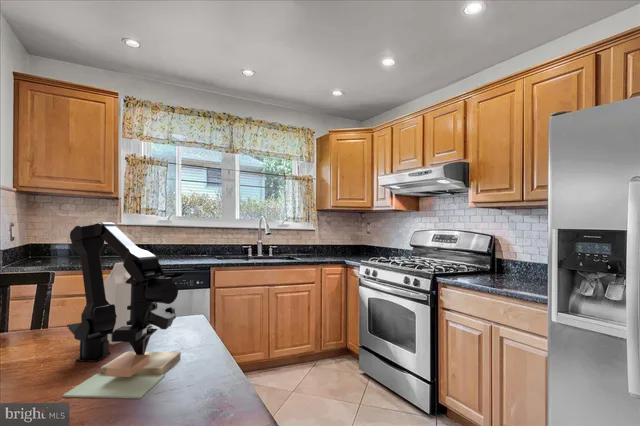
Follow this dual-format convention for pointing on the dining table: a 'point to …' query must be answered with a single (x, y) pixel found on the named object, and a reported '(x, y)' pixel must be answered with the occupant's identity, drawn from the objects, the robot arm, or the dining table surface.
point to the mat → (115, 386)
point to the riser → (151, 362)
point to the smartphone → (73, 327)
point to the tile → (127, 365)
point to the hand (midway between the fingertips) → (140, 357)
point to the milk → (118, 295)
